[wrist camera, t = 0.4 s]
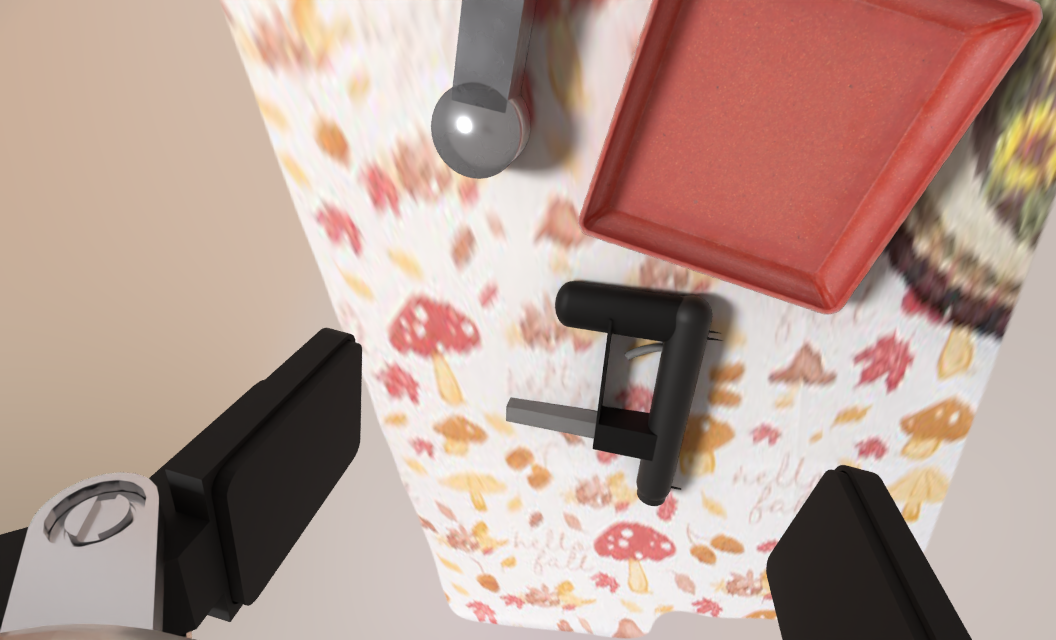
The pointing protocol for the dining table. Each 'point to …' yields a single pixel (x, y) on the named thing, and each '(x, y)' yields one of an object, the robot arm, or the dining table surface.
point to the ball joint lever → (486, 89)
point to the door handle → (639, 317)
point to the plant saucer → (793, 132)
